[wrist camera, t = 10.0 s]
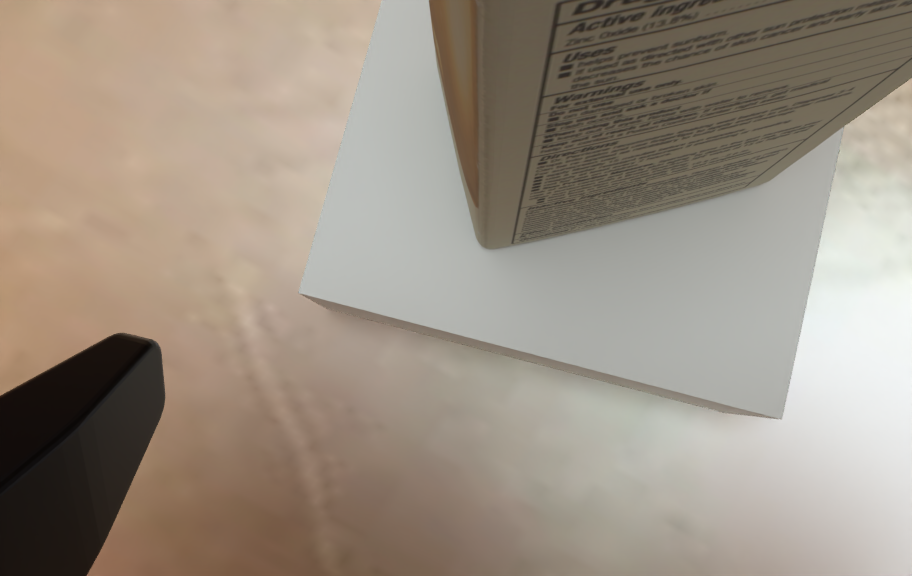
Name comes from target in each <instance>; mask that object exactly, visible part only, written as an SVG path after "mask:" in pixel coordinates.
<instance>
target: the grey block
mask: <svg viewBox="0 0 912 576" xmlns="http://www.w3.org/2000/svg"><path fill="white" fill-rule="evenodd" d="M843 130H844V127H843V128H841V129H840V130H839V131H837V132H836V133H834V134H833V135H832V136H830V137H829V138H828V139H826V140H825V141H824V142H822V143H821V144H820V145H818V146H817V147H816V148H814V149H813V150H811V151H810V152H809V153H807V154H806V155H805V156H803V157H802V158H800V159H799V160H797V161H796V162H795V163H793V164H792V165H791V166H789V167H788V168H786V169H785V170H784V171H782V172H781V173H780V174H778V175H777V176H776V177H774V178H773V179H772V180H770V181H768V182H766V183H763V184H761V185H758V186H754V187H750V188H746V189H743V190H739V191H735V192H732V193H729V194H725V195H722V196H718V197H714V198H710V199H707V200H703V201H699V202H695V203H692V204H688V205H684V206H680V207H676V208H672V209H668V210H664V211H660V212H656V213H652V214H648V215H644V216H640V217H636V218H632V219H627V220H623V221H619V222H615V223H611V224H607V225H603V226H599V227H594V228H590V229H586V230H581V231H577V232H572V233H567V234H563V235H558V236H553V237H549V238H545V239H540V240H535V241H530V242H525V243H520V244H515V245H510V246H505V247H500V248H494V249H486V248H484V247H482V246H481V245H480V244H479V242H478V240H477V239H476V236H475V232H474V228H473V224H472V220H471V216H470V212H469V208H468V203H467V199H466V195H465V191H464V187H463V184H462V180H461V176H460V171H459V167H458V162H457V158H456V153H455V148H454V144H453V139H452V135H451V130H450V126H449V121H448V116H447V112H446V107H445V102H444V97H443V92H442V88H441V83H440V78H439V73H438V68H437V63H436V54H435V46H434V39H433V31H432V23H431V15H430V7H429V0H382V2H381V6H380V9H379V13H378V16H377V20H376V23H375V27H374V30H373V34H372V37H371V41H370V44H369V48H368V51H367V55H366V58H365V62H364V65H363V68H362V72H361V75H360V79H359V82H358V86H357V89H356V93H355V96H354V100H353V103H352V107H351V110H350V114H349V117H348V121H347V124H346V128H345V131H344V135H343V138H342V142H341V145H340V149H339V152H338V156H337V159H336V163H335V166H334V170H333V173H332V177H331V180H330V184H329V187H328V191H327V194H326V198H325V201H324V205H323V208H322V212H321V215H320V219H319V222H318V226H317V229H316V233H315V236H314V240H313V243H312V247H311V250H310V254H309V257H308V261H307V264H306V268H305V271H304V275H303V278H302V282H301V285H300V289H299V292H298V293H299V294H301V295H303V296H305V297H307V298H308V299H310V300H312V301H314V302H316V303H317V304H319V305H321V306H323V307H325V308H326V309H330V310H334V311H338V312H341V313H345V314H349V315H353V316H357V317H360V318H364V319H368V320H372V321H376V322H380V323H383V324H387V325H391V326H395V327H399V328H402V329H406V330H410V331H414V332H418V333H422V334H425V335H429V336H433V337H437V338H441V339H444V340H448V341H452V342H456V343H460V344H464V345H467V346H471V347H475V348H479V349H483V350H486V351H490V352H494V353H498V354H502V355H506V356H509V357H513V358H517V359H521V360H525V361H528V362H532V363H536V364H540V365H544V366H548V367H551V368H555V369H559V370H563V371H567V372H570V373H574V374H578V375H582V376H586V377H589V378H593V379H597V380H601V381H605V382H609V383H612V384H616V385H620V386H624V387H628V388H631V389H635V390H639V391H643V392H647V393H651V394H654V395H658V396H662V397H666V398H670V399H673V400H677V401H681V402H685V403H689V404H693V405H696V406H700V407H704V408H708V409H712V410H715V411H719V412H723V413H731V414H739V415H748V416H756V417H765V418H774V419H782V416H783V412H784V407H785V402H786V398H787V393H788V388H789V384H790V379H791V374H792V369H793V365H794V360H795V355H796V351H797V346H798V341H799V337H800V332H801V327H802V322H803V318H804V313H805V308H806V304H807V299H808V294H809V290H810V285H811V280H812V275H813V271H814V266H815V261H816V257H817V252H818V247H819V243H820V238H821V233H822V228H823V224H824V219H825V214H826V210H827V205H828V200H829V196H830V191H831V186H832V181H833V177H834V172H835V167H836V163H837V158H838V153H839V149H840V144H841V139H842V134H843Z"/></svg>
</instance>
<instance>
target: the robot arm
mask: <svg viewBox="0 0 912 576" xmlns="http://www.w3.org/2000/svg"><path fill="white" fill-rule="evenodd" d="M164 404H165V387H164V376H163V365H162V354H161V349H160V346H159V345H158V343H157V342H156V341H154V340H152V339H148V338H143V337H139V336H135V335H131V334H127V333H117V334H114V335H111V336H109V337H107V338H105V339H104V340H102V341H100V342H98V343H96V344H94V345H93V346H91V347H89V348H87V349H85V350H83V351H82V352H80V353H78V354H76V355H74V356H72V357H71V358H69V359H67V360H65V361H63V362H61V363H60V364H58V365H56V366H54V367H52V368H50V369H49V370H47V371H45V372H43V373H41V374H39V375H38V376H36V377H34V378H32V379H30V380H28V381H26V382H25V383H23V384H21V385H19V386H17V387H15V388H14V389H12V390H10V391H8V392H6V393H4V394H3V395H1V396H0V576H86V575H87V574H88V572H89V570H90V569H91V567H92V565H93V563H94V561H95V559H96V558H97V556H98V554H99V552H100V550H101V549H102V547H103V544H104V542H105V540H106V538H107V536H108V534H109V532H110V530H111V528H112V525H113V523H114V521H115V519H116V516H117V514H118V512H119V510H120V508H121V505H122V503H123V501H124V499H125V496H126V494H127V492H128V490H129V487H130V485H131V483H132V481H133V478H134V476H135V474H136V472H137V469H138V467H139V465H140V463H141V461H142V458H143V456H144V454H145V452H146V449H147V447H148V445H149V443H150V440H151V438H152V436H153V434H154V431H155V429H156V427H157V425H158V422H159V420H160V418H161V415H162V412H163V408H164Z"/></svg>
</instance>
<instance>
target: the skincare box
mask: <svg viewBox="0 0 912 576" xmlns="http://www.w3.org/2000/svg"><path fill="white" fill-rule="evenodd" d="M429 7H430V15H431V23H432V31H433V39H434V46H435V54H436V63H437V68H438V73H439V78H440V83H441V88H442V92H443V97H444V102H445V107H446V112H447V116H448V121H449V126H450V130H451V135H452V139H453V144H454V148H455V153H456V158H457V162H458V167H459V171H460V176H461V180H462V184H463V187H464V191H465V195H466V199H467V203H468V208H469V212H470V216H471V220H472V224H473V228H474V232H475V236H476V239H477V240H478V242H479V244H480V245H481V246H482V247H484V248H486V249H494V248H500V247H505V246H510V245H515V244H520V243H525V242H530V241H535V240H540V239H545V238H549V237H553V236H558V235H563V234H567V233H572V232H577V231H581V230H586V229H590V228H594V227H599V226H603V225H607V224H611V223H615V222H619V221H623V220H627V219H632V218H636V217H640V216H644V215H648V214H652V213H656V212H660V211H664V210H668V209H672V208H676V207H680V206H684V205H688V204H692V203H695V202H699V201H703V200H707V199H710V198H714V197H718V196H722V195H725V194H729V193H732V192H735V191H739V190H743V189H746V188H750V187H754V186H758V185H761V184H763V183H766V182H768V181H770V180H772V179H773V178H774V177H776V176H777V175H778V174H780V173H781V172H782V171H784V170H785V169H786V168H788V167H789V166H791V165H792V164H793V163H795V162H796V161H797V160H799V159H800V158H802V157H803V156H805V155H806V154H807V153H809V152H810V151H811V150H813V149H814V148H816V147H817V146H818V145H820V144H821V143H822V142H824V141H825V140H826V139H828V138H829V137H830V136H832V135H833V134H834V133H836V132H837V131H839V130H840V129H841V128H843V127H844V126H845V125H847V124H848V123H850V122H851V121H852V120H854V119H855V118H857V117H858V116H859V115H861V114H862V113H864V112H865V111H866V110H868V109H869V108H870V107H872V106H873V105H875V104H876V103H877V102H879V101H880V100H882V99H883V98H884V97H886V96H887V95H888V94H890V93H891V92H892V91H894V90H895V89H897V88H898V87H900V86H901V85H902V84H904V83H905V82H907V81H908V80H909V79H911V78H912V0H429Z"/></svg>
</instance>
